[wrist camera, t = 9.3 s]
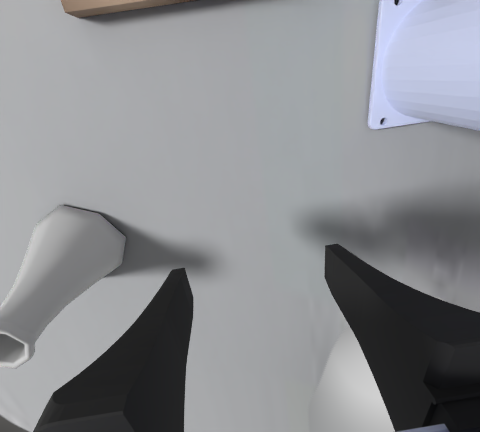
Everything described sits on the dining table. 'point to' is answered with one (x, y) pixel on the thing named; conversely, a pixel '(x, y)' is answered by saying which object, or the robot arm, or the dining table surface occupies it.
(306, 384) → the dining table surface
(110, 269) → the flask
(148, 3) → the pin board
